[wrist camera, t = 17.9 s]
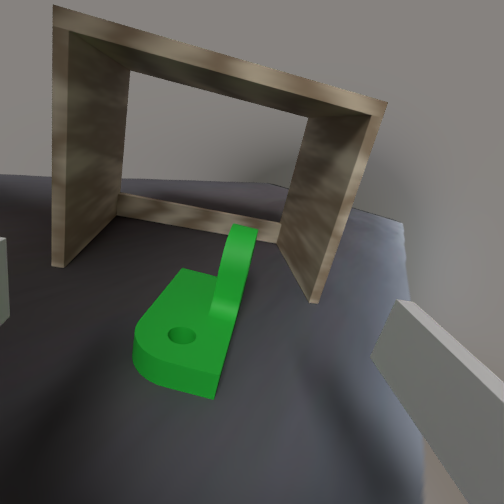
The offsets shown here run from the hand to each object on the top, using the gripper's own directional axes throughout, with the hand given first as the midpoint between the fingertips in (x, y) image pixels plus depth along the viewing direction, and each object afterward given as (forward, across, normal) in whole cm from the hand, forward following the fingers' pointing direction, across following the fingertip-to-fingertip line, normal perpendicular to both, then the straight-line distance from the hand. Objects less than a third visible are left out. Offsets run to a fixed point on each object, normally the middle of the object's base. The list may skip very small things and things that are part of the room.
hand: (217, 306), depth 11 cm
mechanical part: (+11, 0, -9) cm, 14 cm away
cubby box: (+26, 0, -9) cm, 27 cm away
